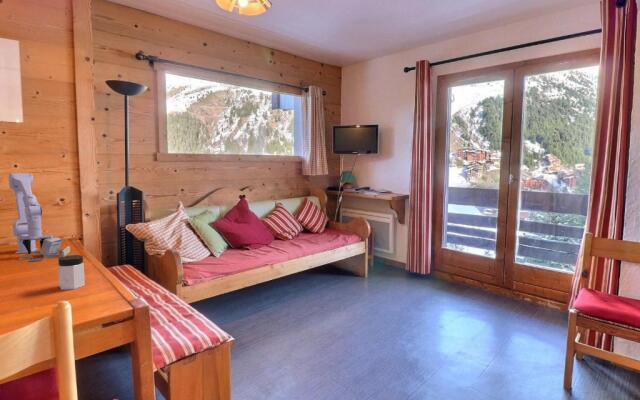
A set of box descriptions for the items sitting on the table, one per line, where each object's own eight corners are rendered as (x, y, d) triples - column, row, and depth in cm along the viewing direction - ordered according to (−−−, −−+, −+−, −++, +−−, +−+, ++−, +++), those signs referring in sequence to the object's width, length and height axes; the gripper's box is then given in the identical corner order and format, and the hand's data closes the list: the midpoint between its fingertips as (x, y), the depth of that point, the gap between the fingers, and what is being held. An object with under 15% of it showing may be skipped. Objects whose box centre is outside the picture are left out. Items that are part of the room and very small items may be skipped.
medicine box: (47, 257, 192) (52, 242, 192) (39, 254, 192) (44, 239, 191) (57, 253, 200) (62, 239, 199) (49, 250, 200) (54, 236, 199)
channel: (28, 254, 198) (28, 248, 198) (70, 251, 206) (69, 246, 206) (19, 260, 186) (19, 254, 185) (64, 256, 193) (64, 251, 193)
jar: (54, 290, 140) (52, 260, 139) (64, 284, 148) (62, 255, 147) (80, 289, 142) (79, 259, 141) (88, 282, 150) (87, 254, 149)
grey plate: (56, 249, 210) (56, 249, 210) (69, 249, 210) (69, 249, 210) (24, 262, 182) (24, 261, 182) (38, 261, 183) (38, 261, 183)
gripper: (14, 230, 186) (16, 256, 187) (49, 228, 192) (50, 253, 193) (19, 228, 192) (21, 253, 194) (52, 226, 198) (53, 250, 200)
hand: (36, 253), depth 194 cm, fingers open, 5 cm apart
